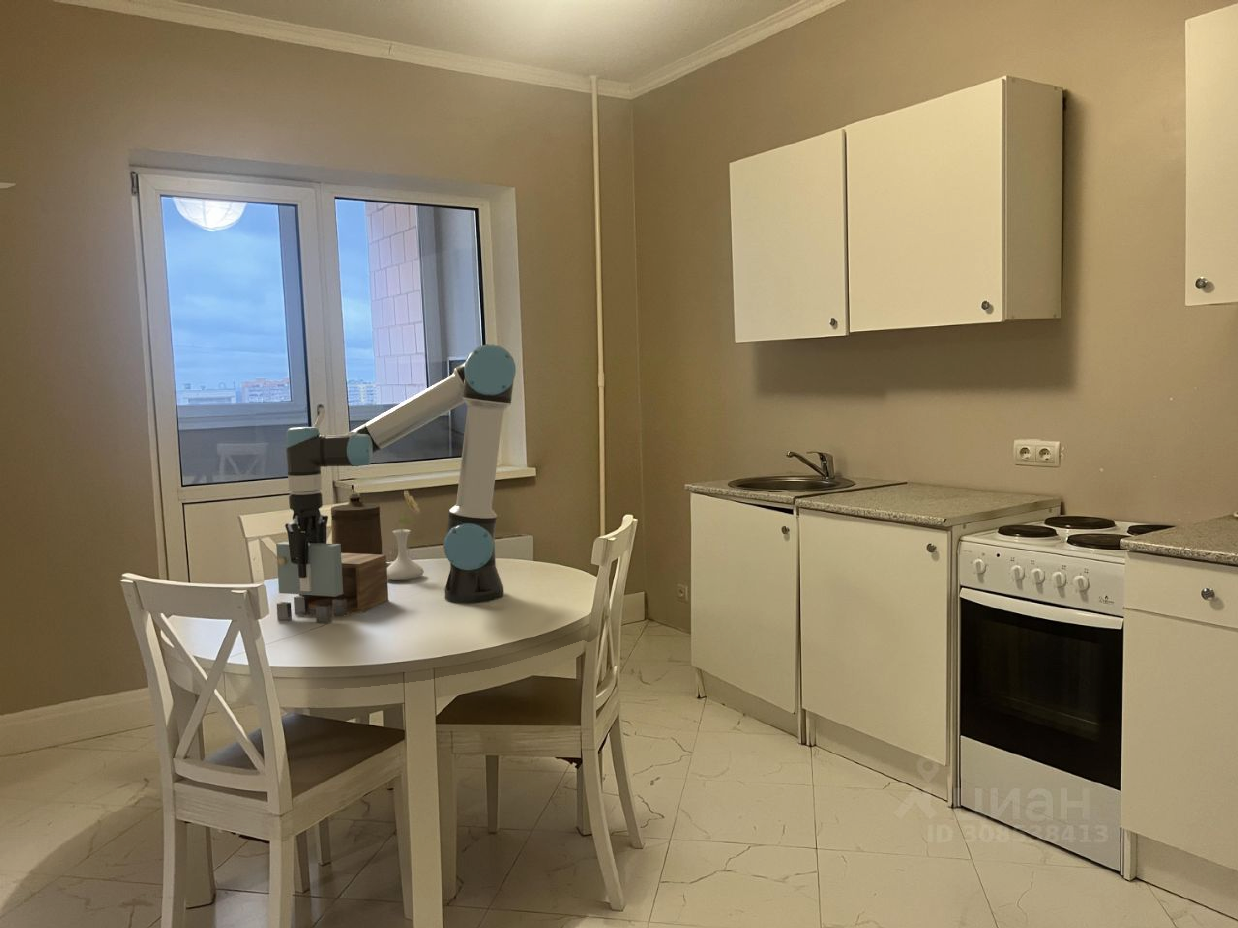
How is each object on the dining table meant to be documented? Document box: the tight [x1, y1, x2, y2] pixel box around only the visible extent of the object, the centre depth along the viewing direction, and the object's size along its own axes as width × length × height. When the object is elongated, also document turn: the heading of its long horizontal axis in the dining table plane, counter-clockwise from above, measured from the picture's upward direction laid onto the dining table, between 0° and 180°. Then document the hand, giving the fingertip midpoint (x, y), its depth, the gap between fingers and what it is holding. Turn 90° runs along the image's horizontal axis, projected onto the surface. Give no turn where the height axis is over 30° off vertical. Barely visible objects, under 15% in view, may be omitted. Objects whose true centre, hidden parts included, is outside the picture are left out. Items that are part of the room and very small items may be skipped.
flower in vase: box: [387, 490, 425, 581], centre depth 266 cm, size 13×11×25 cm
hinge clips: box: [276, 595, 348, 624], centre depth 225 cm, size 14×8×4 cm, turn 72°
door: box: [275, 541, 343, 597], centre depth 224 cm, size 16×4×12 cm, turn 72°
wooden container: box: [330, 493, 384, 555], centre depth 287 cm, size 15×15×22 cm
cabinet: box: [298, 553, 389, 613], centre depth 237 cm, size 18×12×12 cm, turn 72°
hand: (310, 588), depth 225 cm, fingers closed on door, 3 cm apart
